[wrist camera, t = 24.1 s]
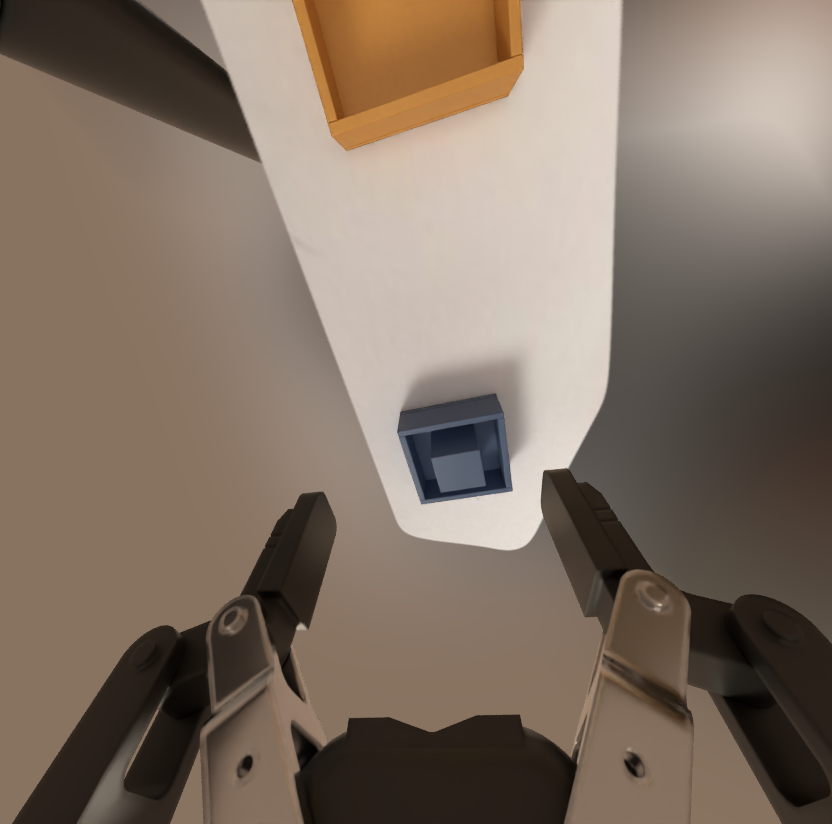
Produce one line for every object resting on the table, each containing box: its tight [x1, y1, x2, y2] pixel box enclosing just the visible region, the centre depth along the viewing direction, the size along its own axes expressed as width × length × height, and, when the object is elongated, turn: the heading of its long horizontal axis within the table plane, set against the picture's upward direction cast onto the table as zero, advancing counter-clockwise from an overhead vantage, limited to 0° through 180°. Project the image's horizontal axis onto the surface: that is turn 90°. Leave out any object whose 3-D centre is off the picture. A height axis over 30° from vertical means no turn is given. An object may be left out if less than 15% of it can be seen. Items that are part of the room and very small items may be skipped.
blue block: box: [431, 423, 486, 493], centre depth 30 cm, size 4×4×4 cm
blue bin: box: [397, 394, 513, 504], centre depth 31 cm, size 10×10×4 cm
